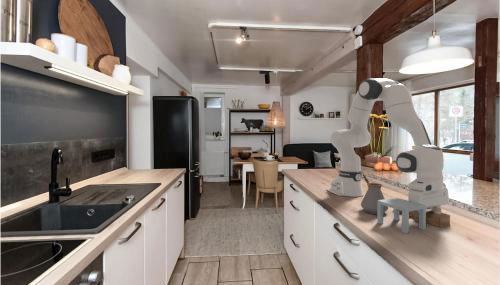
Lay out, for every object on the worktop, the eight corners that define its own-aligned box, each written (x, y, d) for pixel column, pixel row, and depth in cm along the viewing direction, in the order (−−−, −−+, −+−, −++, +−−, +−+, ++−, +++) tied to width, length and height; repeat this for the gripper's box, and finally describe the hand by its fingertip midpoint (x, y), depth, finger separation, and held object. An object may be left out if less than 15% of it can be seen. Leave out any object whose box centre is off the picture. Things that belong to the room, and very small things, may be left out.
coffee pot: (392, 216, 106) (393, 182, 105) (365, 215, 107) (365, 182, 107) (374, 202, 127) (374, 174, 127) (351, 201, 129) (351, 174, 128)
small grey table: (377, 222, 99) (377, 200, 98) (396, 218, 103) (396, 197, 102) (405, 233, 87) (406, 208, 87) (425, 229, 91) (426, 205, 91)
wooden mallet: (390, 211, 113) (390, 198, 112) (399, 209, 115) (399, 196, 115) (440, 227, 93) (440, 211, 93) (449, 224, 95) (450, 209, 95)
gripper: (437, 180, 106) (436, 211, 107) (405, 184, 98) (404, 218, 99) (453, 183, 100) (453, 216, 101) (421, 187, 93) (420, 223, 93)
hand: (428, 217), depth 100 cm, fingers closed on wooden mallet, 6 cm apart
